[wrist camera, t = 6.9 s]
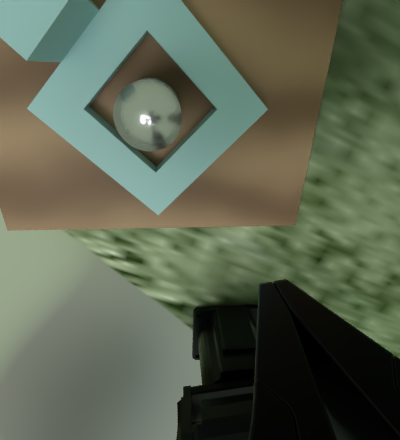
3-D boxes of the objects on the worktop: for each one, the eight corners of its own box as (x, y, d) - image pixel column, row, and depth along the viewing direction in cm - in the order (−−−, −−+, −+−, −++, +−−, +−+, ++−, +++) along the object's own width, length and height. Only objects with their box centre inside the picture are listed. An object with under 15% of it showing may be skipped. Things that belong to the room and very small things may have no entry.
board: (289, 217, 22) (295, 225, 21) (15, 221, 20) (7, 230, 19) (355, -114, 14) (370, -129, 13) (-100, -161, 12) (-127, -183, 11)
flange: (262, 106, 17) (294, 120, 13) (158, 207, 19) (155, 248, 15) (36, -174, 11) (-50, -329, 7) (-70, 18, 14) (-184, -6, 9)
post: (179, 133, 17) (182, 151, 14) (128, 132, 17) (116, 151, 13) (179, 77, 16) (182, 81, 12) (124, 76, 16) (109, 78, 12)
